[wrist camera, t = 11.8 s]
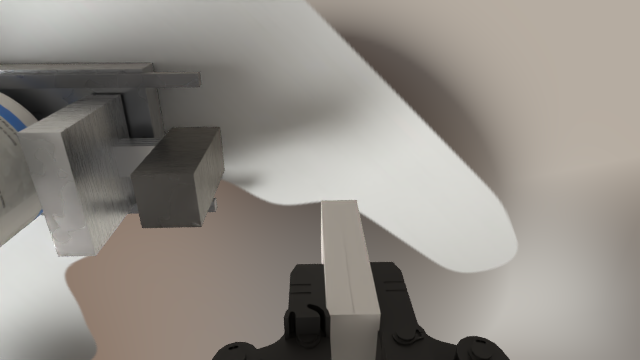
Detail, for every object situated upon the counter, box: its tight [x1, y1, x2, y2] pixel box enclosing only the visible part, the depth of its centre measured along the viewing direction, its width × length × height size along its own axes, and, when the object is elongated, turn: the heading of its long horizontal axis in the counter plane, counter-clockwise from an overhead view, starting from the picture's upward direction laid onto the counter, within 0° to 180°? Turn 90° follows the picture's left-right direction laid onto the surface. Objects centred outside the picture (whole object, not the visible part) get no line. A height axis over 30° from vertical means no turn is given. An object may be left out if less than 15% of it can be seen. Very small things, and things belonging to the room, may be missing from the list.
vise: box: [0, 63, 217, 215], centre depth 25 cm, size 10×24×9 cm, turn 90°
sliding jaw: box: [17, 95, 225, 256], centre depth 24 cm, size 7×8×8 cm
